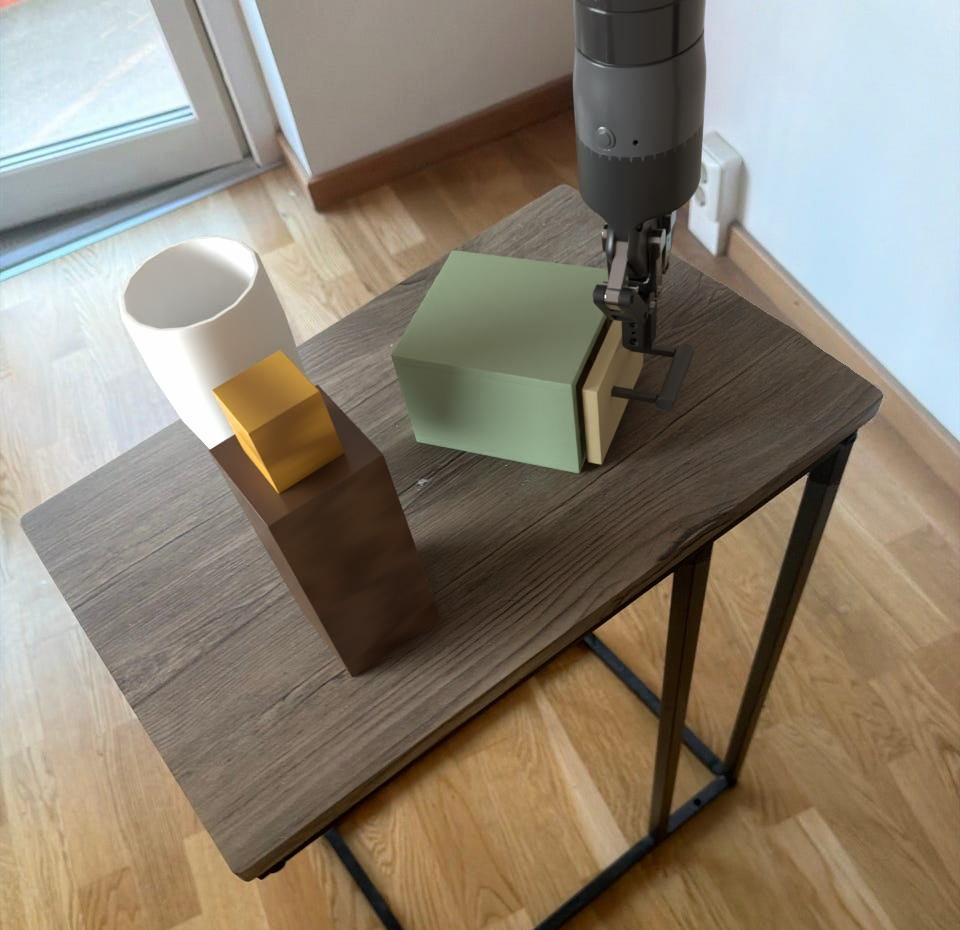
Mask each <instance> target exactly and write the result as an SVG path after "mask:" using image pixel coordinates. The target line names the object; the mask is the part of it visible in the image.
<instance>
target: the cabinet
mask: <svg viewBox="0 0 960 930" xmlns="http://www.w3.org/2000/svg"><path fill="white" fill-rule="evenodd" d="M603 281H607V282H608V270H607V268H601V267H594V266H585V265H577V264H570V263H561V262H552V261H545V260H536V259H529V258H520V257H511V256H504V255H497V254H490V253H489V254H486V253H482V252H481V253H480V252H471V251H465V250H464V251H463V250H456V249H452V251H451V252H450V254H449V256H448V258H447V259H446V261H445V263H444V264H443V266H442V268H441V269H440V271H439V273H438V274H437V276H436V278H435V280H434V282H433V283H432V285H431V286H430V288H429V289H428V292H427V293H426V295H425V296H424V298H423V300H422V302H421V303H420V305H419V307H418V308H417V310H416V312H415V314H414V315H413V316H412V319H411V320H410V322H409V324H408V325H407V327H406V329H405V331H404V333H403V334H402V336H401V337H400V339H399V340H398V342H397V345H396V346H395V348H394V349H393V351H392V353H391V354H390V357H391V361H392V363H393V367H394V371H395V374H396V377H397V381H398V385H399V387H400V390H401V393H402V398H403V400H404V404H405V407H406V410H407V413H408V417H409V420H410V423H411V427H412V431H413V433H414V436H415V437H414V438H415V440H416V442H417V443H422V444H427V445H432V446H437V447H442V448H446V449H452V450H458V451H463V452H466V453H472V454H477V455H482V456H488V457H493V458H496V459H497V458H499V459H502V460H507V461H513V462H519V463H523V464H529V465H534V466H539V467H544V468H549V469H554V470H558V471H563V472H569V473H574V474H580V473H581V471H582V469H583V468H584V464H585V462H586V459H587V447H586V434H585V427H584V429H583V431H582V433H581V436H580V431H579V420H578V408H577V397H576V383H577V381H578V379H579V377H580V375H581V372H582V370H583V368H584V366H585V364H586V361H587V359H588V357H589V355H590V353H591V350H592V348H593V346H594V344H595V342H596V339H597V337H598V335H599V333H600V331H601V328H602V326H603V324H604V322H605V320H606V317H607V316H606V315H605V314H604V313H603V312H602V311H601V310H600V309H599V308H598V307H597V306H596V305H595V304H594V302H593V291H594V289H595V287H596V285H597V284H602V282H603ZM612 322H613V320H610V326H611V324H612Z"/></svg>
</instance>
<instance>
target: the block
mask: <svg viewBox="0 0 960 930" xmlns="http://www.w3.org/2000/svg"><path fill="white" fill-rule="evenodd" d="M306 376H307V375H306ZM306 376H305V375H304V374H303V373H302V372H301V371H300V369H299V368H298V367H297V366H296V365H295V364H294V363H293V362H292V361H291V360H290V359H289V358H288V357H287V356H286V355H285V353H284V352H283V351H282V350H279V351H277V352H276V353H274V354H272V355H271V356H269V357H267V358H265V359H264V360H262V361H260V362H259V363H257V364H255V365H254V366H252V367H250V368H248V369H247V370H245V371H243V372H242V373H240V374H238V375H237V376H235V377H233V378H231V379H230V380H228V381H226V382H225V383H223V384H221V385H220V386H218V387H216V388H214V389H213V390H212V392H213V394H214V396H215V398H216V399H217V401H218V403H219V405H220V407H221V409H222V411H223V412H224V414H225V416H226V418H227V420H228V422H229V424H230V426H231V427H232V429H233V431H234V433H235V435H236V437H237V439H238V441H239V442H240V444H241V446H242V448H243V450H244V451H245V453H246V454H247V455H248V456H249V458H250V459H251V460H252V461H253V462H254V464H255V465H256V466H257V467H258V469H259V470H260V471H261V472H262V474H263V475H264V476H265V477H266V479H267V480H268V481H269V482H270V484H271V485H272V486H273V487H274V488H275V490H276V491H277V492H278V493H281V492H283V491H284V490H286V489H288V488H289V487H291V486H292V485H294V484H296V483H297V482H299V481H300V480H302V479H304V478H305V477H307V476H308V475H310V474H312V473H313V472H315V471H316V470H318V469H320V468H321V467H323V466H324V465H326V464H328V463H329V462H331V461H332V460H334V459H336V458H337V457H339V456H340V455H342V454H344V450H343V448H342V445H341V443H340V440H339V438H338V435H337V433H336V430H335V428H334V425H333V423H332V420H331V418H330V415H329V413H328V410H327V408H326V405H325V403H324V401H323V398H322V396H321V393H320V391H319V390H318V389H317V388H316V387H315V386H316V385H315V384H314V383H313V382H312V381H311V380H310V379H309V378H308V376H307V377H306Z"/></svg>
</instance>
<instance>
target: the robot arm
mask: <svg viewBox="0 0 960 930" xmlns="http://www.w3.org/2000/svg"><path fill="white" fill-rule="evenodd" d="M571 3H572V20H573V21H572V22H573V39H574V57H573V58H574V59H573V69H572V94H573V97H572V99H573V114H574V128H575V129H574V130H575V145H576V146H575V148H576V164H577V177H578V178H577V179H578V190H579V194H580V197H581V198H582V200H583V202H584V203H585V205H586V206H587V207H588V208H589V209H590V210H591V211H593V212H594V213H596V214H597V215H598V216H599V217H601V219H602V220H604V222H605V223H604V224H603V227H602V231H601V246H602V248H601V249H602V252H604V253H605V257H606V266H607V268H606V269H607V270H608V282H607V281H603V282H602V284H597V285H596V287H595V289H594V291H593V302H594V304H595V305H596V306H597V307H598V308H599V309H600V310H601V311H602V312H603V313H604V314H605V315H606V316H607V317H608V318H609V319H610V320H617V321H622V345H623V347H624V348H626V349H628V350H634V351H641V352H649V351H650V350H651V347H652V345H653V344H655V343H654V342H655V340H656V338H657V327H658V324H657V323H658V299H659V298H660V295H661V294H662V293H663V285H662V284H663V275H664V276H665V275H666V274H667V272H668V270H669V268H670V259H671V253H672V252H671V251H672V247H673V240H674V237H675V236H674V234H675V230H676V224H677V219H678V213H679V209H680V208H682V207H683V206H684V205H686V204H688V202H689V201H690V200H691V199H692V198H693V196H694V195H695V193H696V192H697V190H698V188H699V185H700V183H701V178H702V177H701V176H702V161H703V160H702V159H703V141H704V123H705V103H706V90H707V89H706V87H707V56H706V55H707V54H706V46H705V45H706V43H705V24H706V23H705V21H706V5H707V0H571Z"/></svg>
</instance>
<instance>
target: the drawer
mask: <svg viewBox="0 0 960 930" xmlns="http://www.w3.org/2000/svg"><path fill="white" fill-rule="evenodd" d="M644 354H645V355H652V356H658V357H664V358H665V357H666V358H671V361H670V364H669V367H668V369H667V371H666V374H665V377H664V379H663V382H662V384H661V387H660V389H659V391H658V392H654V391H648V390H647V391H646V390H641V389H634V388H635V386H636V384H637V381H638V379H639V376H640V374H641V371H642V369H643V366H644ZM694 355H695V347H694V346H693V345H692V344H690V343H687V342H682V343H680V344H678V345H677V346H676V347H675V346H670V345H663V344H655V343H653V345H652V347H651V350H650V351H649V352H641V351H634V350H628V349H626V348H624V347H623V345H622V321H617V320H613V322H612V324H611V326H610V319H609V318H608V317H606V320H605V322H604V324H603V326H602V328H601V331H600V333H599V335H598V337H597V339H596V342H595V344H594V346H593V348H592V350H591V353H590V355H589V357H588V359H587V361H586V364H585V366H584V368H583V370H582V372H581V375H580V377H579V379H578V381H577V383H576V397H577V408H578V420H579V431H580V436H581V433H582V431H583V429H584V427H585V434H586V447H587V457H586V459H587V463H590V464H597V465H603V463H604V461H605V459H606V455H607V453H608V451H609V448H610V446H611V443H612V441H613V439H614V436H615V435H616V432H617V429H618V427H619V424H620V422H621V420H622V417H623V414H624V412H625V410H626V407H627V405H628V403H629V401H637V402H643V403H647V404H648V403H649V404H654V405H655V406H656V408H657V409H658V410H660V411H663V412H670V411H672V410H673V409H674V407H675V404H676V402H677V399H678V396H679V394H680V391H681V388H682V386H683V384H684V381H685V379H686V376H687V373H688V370H689V368H690V366H691V362H692V360H693V358H694Z"/></svg>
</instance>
